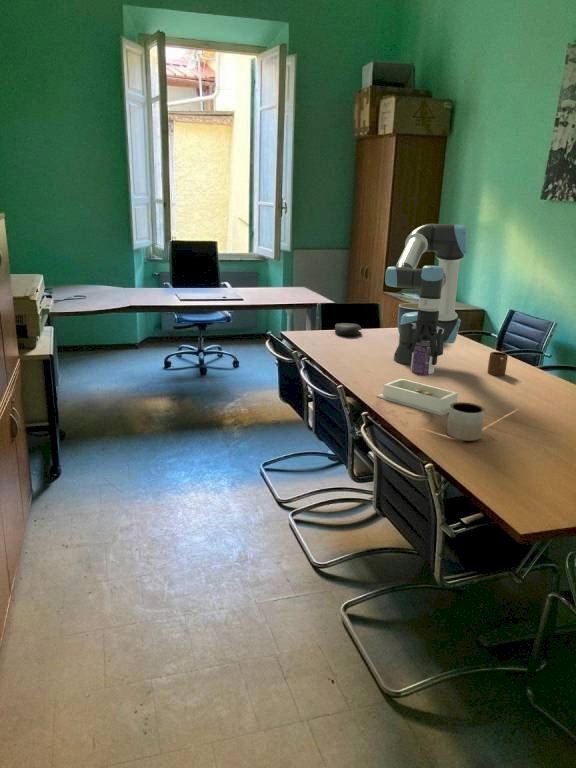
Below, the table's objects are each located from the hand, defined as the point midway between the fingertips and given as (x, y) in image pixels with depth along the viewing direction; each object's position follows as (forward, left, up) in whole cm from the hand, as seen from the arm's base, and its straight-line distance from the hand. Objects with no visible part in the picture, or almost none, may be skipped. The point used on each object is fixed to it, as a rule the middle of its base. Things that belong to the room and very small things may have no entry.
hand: (422, 370), depth 214 cm
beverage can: (0, 0, -2) cm, 2 cm away
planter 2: (+28, -19, -12) cm, 36 cm away
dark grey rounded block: (-88, +70, -12) cm, 113 cm away
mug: (+4, +59, -12) cm, 61 cm away
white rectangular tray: (0, 0, -12) cm, 12 cm away
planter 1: (-59, +93, -12) cm, 111 cm away
